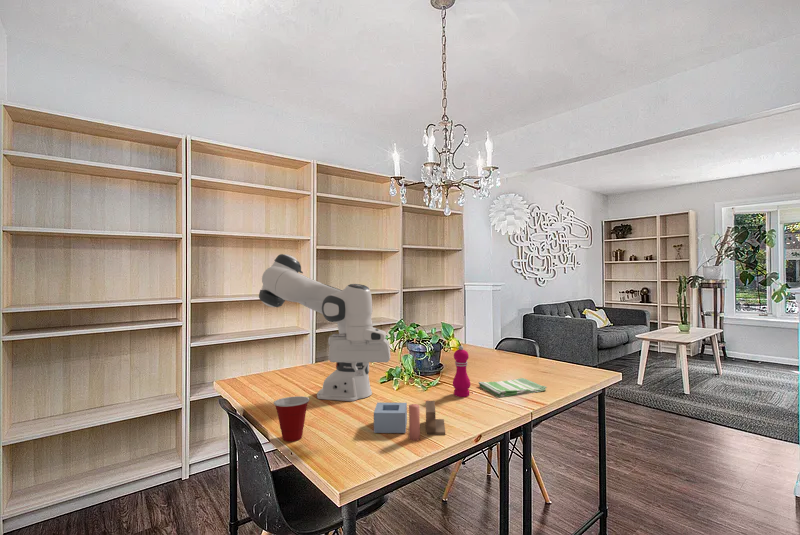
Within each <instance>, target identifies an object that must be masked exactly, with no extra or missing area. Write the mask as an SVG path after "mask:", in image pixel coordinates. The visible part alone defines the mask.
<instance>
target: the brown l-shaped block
mask: <svg viewBox="0 0 800 535" xmlns="http://www.w3.org/2000/svg"><path fill="white" fill-rule="evenodd" d="M425 435H429V436H430V435H437V436H438V435H439V436H442V435H443V436H444V435H446V425H445V419H444V418H439V419H438V418H436V400H425Z"/></svg>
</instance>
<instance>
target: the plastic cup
mask: <svg viewBox="0 0 800 535" xmlns="http://www.w3.org/2000/svg"><path fill="white" fill-rule="evenodd" d="M309 402H310V398H309V397H308V396H301V395H300V396H287V397H282V398H279V399H276V400H274V401H273V405H274V407H275V409H276V413H277V418H278V423H279V428H280V431H281V438H282V440H283V441H284V442H291V443H292V442H296V441H300V439H302V437H303V434H304V428H305V427H304V426H305V421H306V413H307V412H306V411H307V408H308V403H309Z"/></svg>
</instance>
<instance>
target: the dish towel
mask: <svg viewBox="0 0 800 535" xmlns="http://www.w3.org/2000/svg"><path fill="white" fill-rule="evenodd" d="M478 384H479V388H481V389H483V390H484V391H487V392H489V393H490V394H493V395H494V396H496V397H498V398H505V397H511V396H517V395H518V396H519V395H526V394H533V393H539V392H544V391H546V389H547V388H548V387H547V386H545V385H541V384H539V383H536V382H534V381H531V380H529V379H526V378H525V377H520V378H516V379H511V380H510V379H508V380H502V381H501V380H499V381H479V382H478Z"/></svg>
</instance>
